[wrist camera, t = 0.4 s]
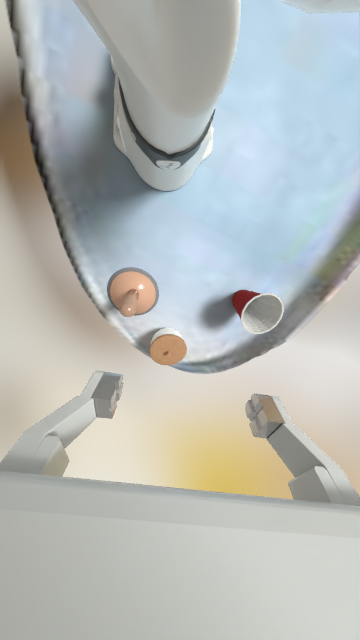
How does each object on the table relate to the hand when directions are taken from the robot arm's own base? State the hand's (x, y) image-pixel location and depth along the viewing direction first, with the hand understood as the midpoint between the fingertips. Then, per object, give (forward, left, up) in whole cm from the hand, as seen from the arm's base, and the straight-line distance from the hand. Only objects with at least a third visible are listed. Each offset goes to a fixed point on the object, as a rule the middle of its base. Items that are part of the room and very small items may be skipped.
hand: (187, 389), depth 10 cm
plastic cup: (+9, +23, -38) cm, 45 cm away
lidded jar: (+21, +1, -38) cm, 43 cm away
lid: (+6, -8, -37) cm, 39 cm away
